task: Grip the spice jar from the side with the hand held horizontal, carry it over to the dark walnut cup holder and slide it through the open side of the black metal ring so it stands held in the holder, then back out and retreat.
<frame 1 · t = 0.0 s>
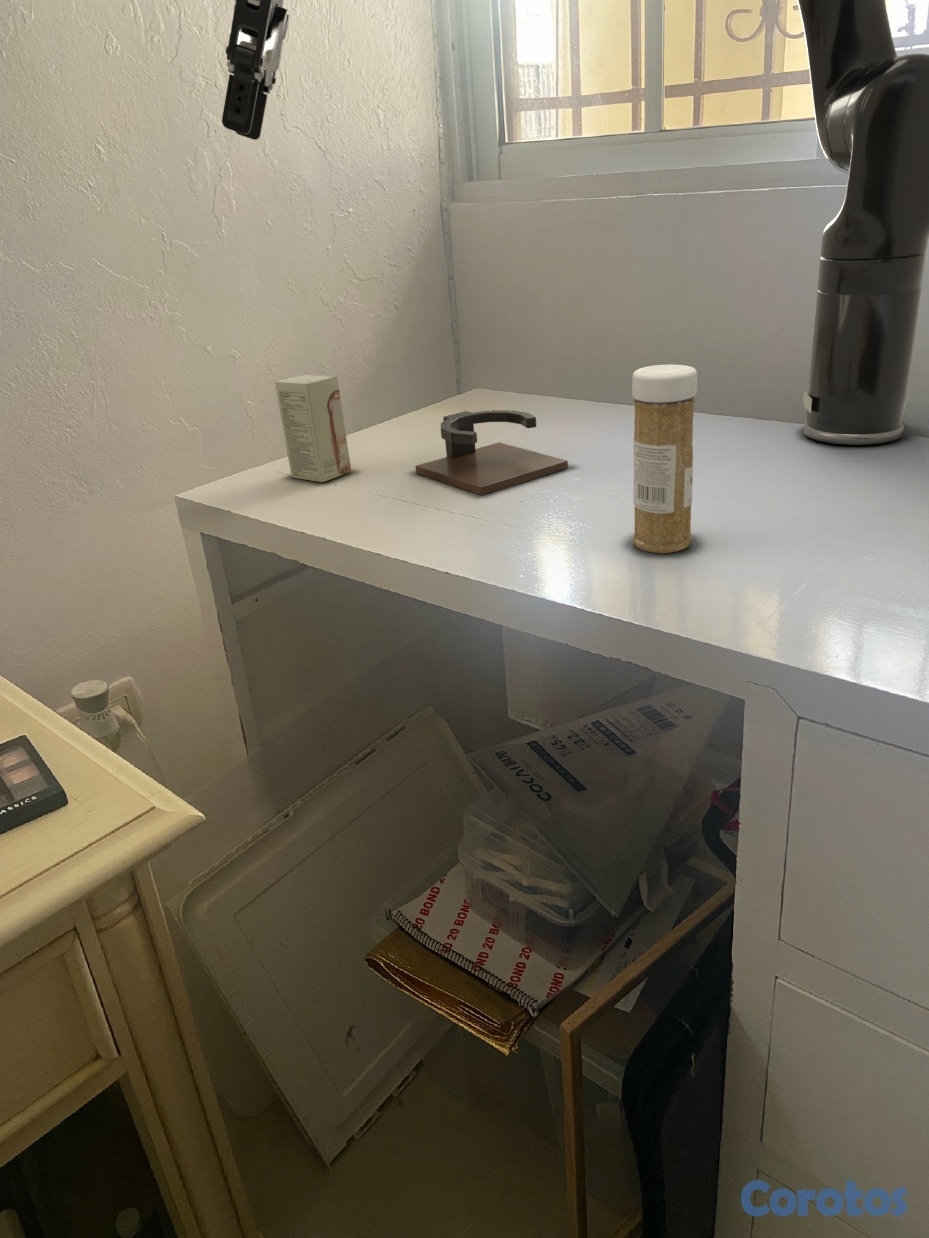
hand: (241, 134, 75), 31 cm above the table, tool tilted 20°, fingers open, 8 cm apart
cup holder: (491, 470, 92), on the table
spice jar: (661, 546, 71), on the table
printed product carton: (321, 476, 95), on the table
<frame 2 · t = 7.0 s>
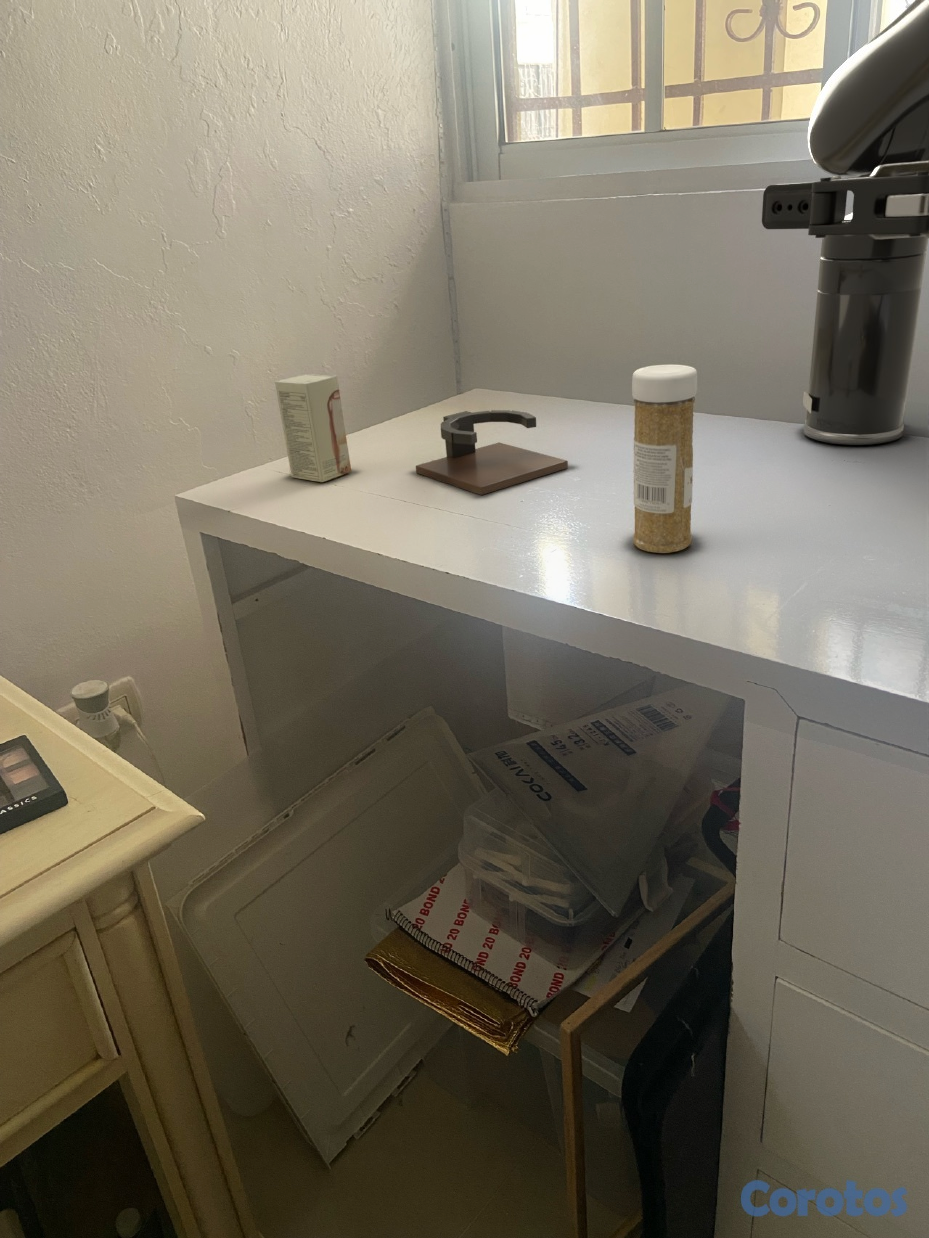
hand: (813, 200, 52), 24 cm above the table, tool horizontal, fingers open, 8 cm apart
nothing on the table moved.
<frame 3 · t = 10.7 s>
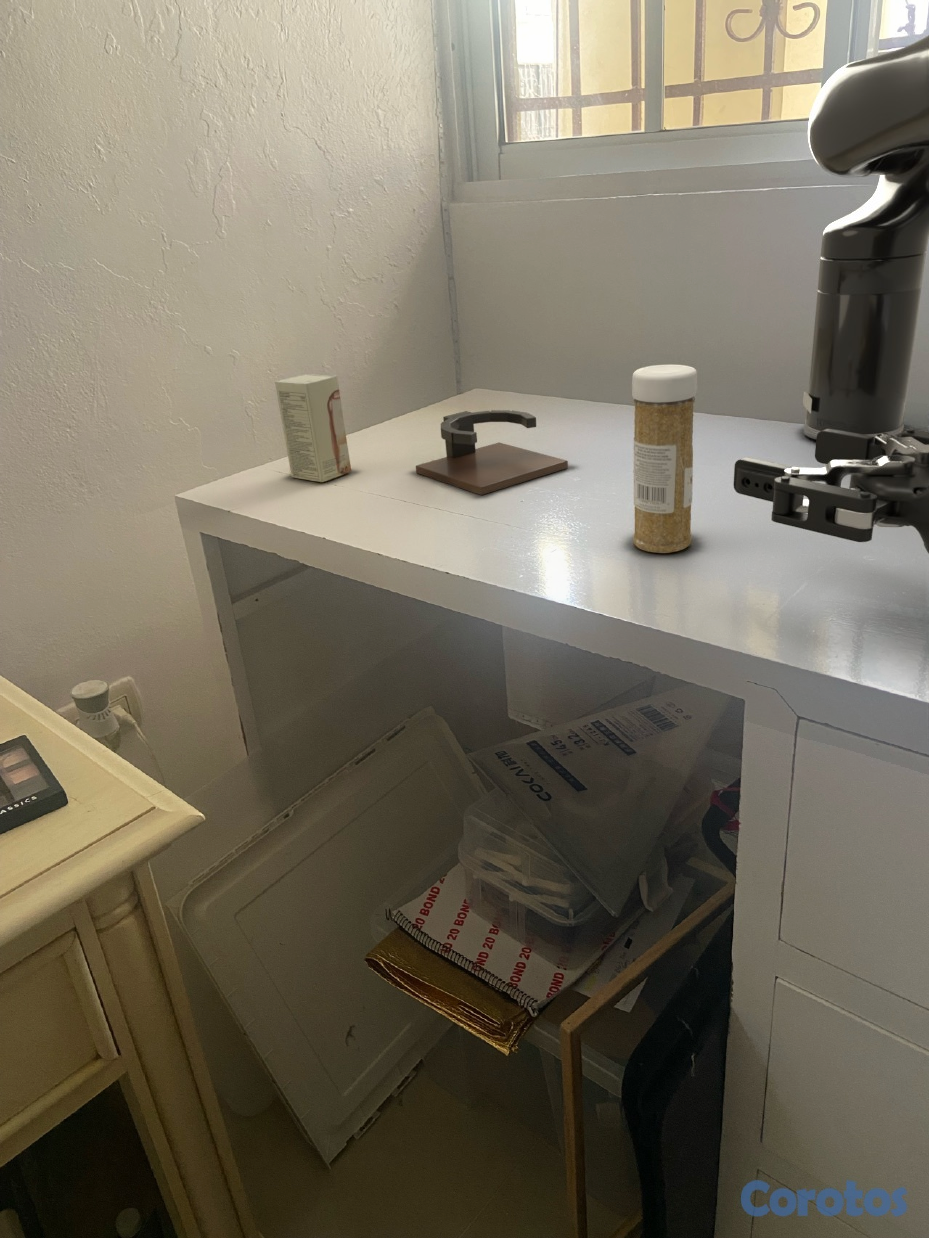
hand: (779, 458, 59), 9 cm above the table, tool horizontal, fingers open, 8 cm apart
nothing on the table moved.
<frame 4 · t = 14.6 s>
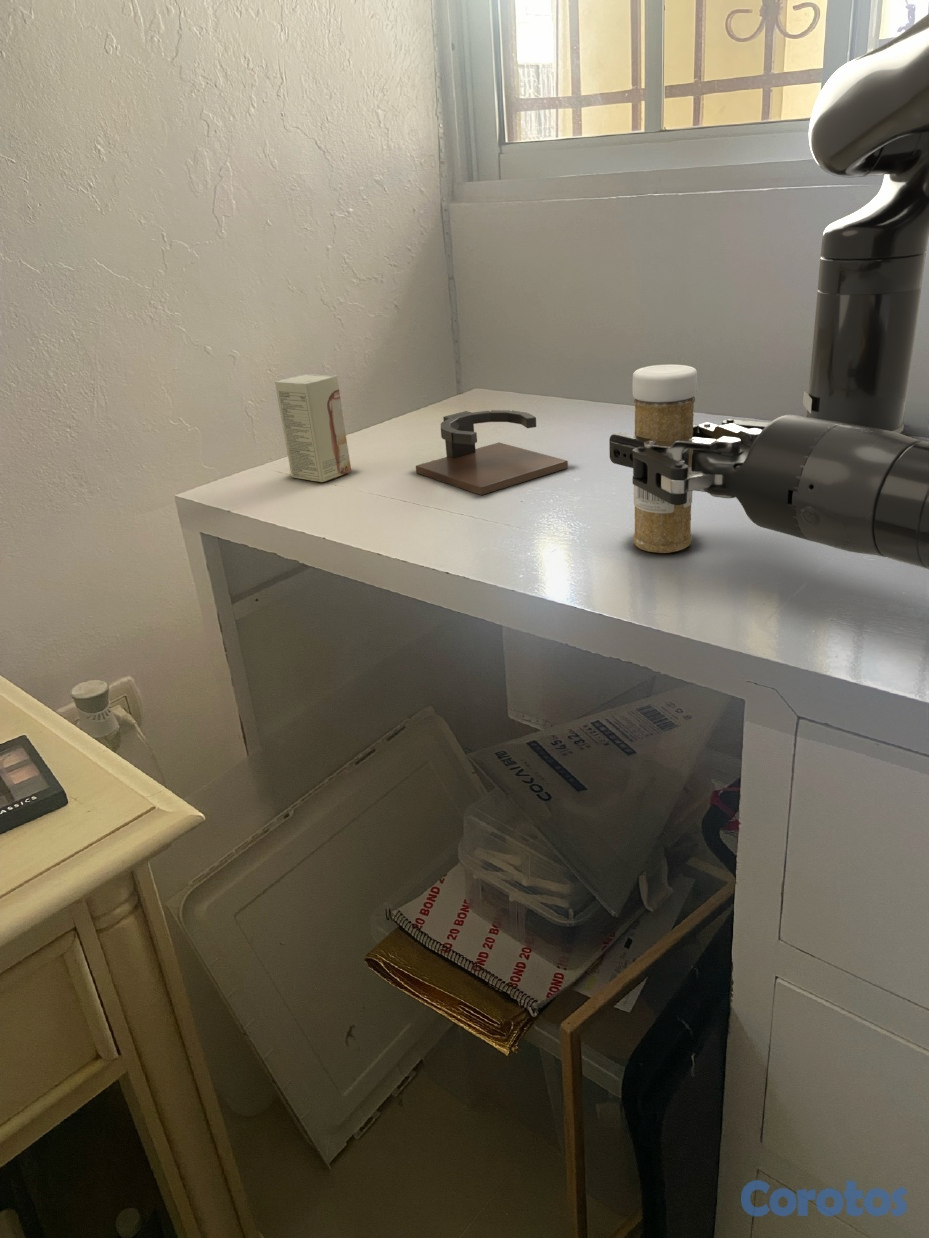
hand: (636, 440, 69), 8 cm above the table, tool horizontal, fingers closed on spice jar, 4 cm apart
spice jar: (661, 546, 71), on the table, touching gripper
everything else where it was.
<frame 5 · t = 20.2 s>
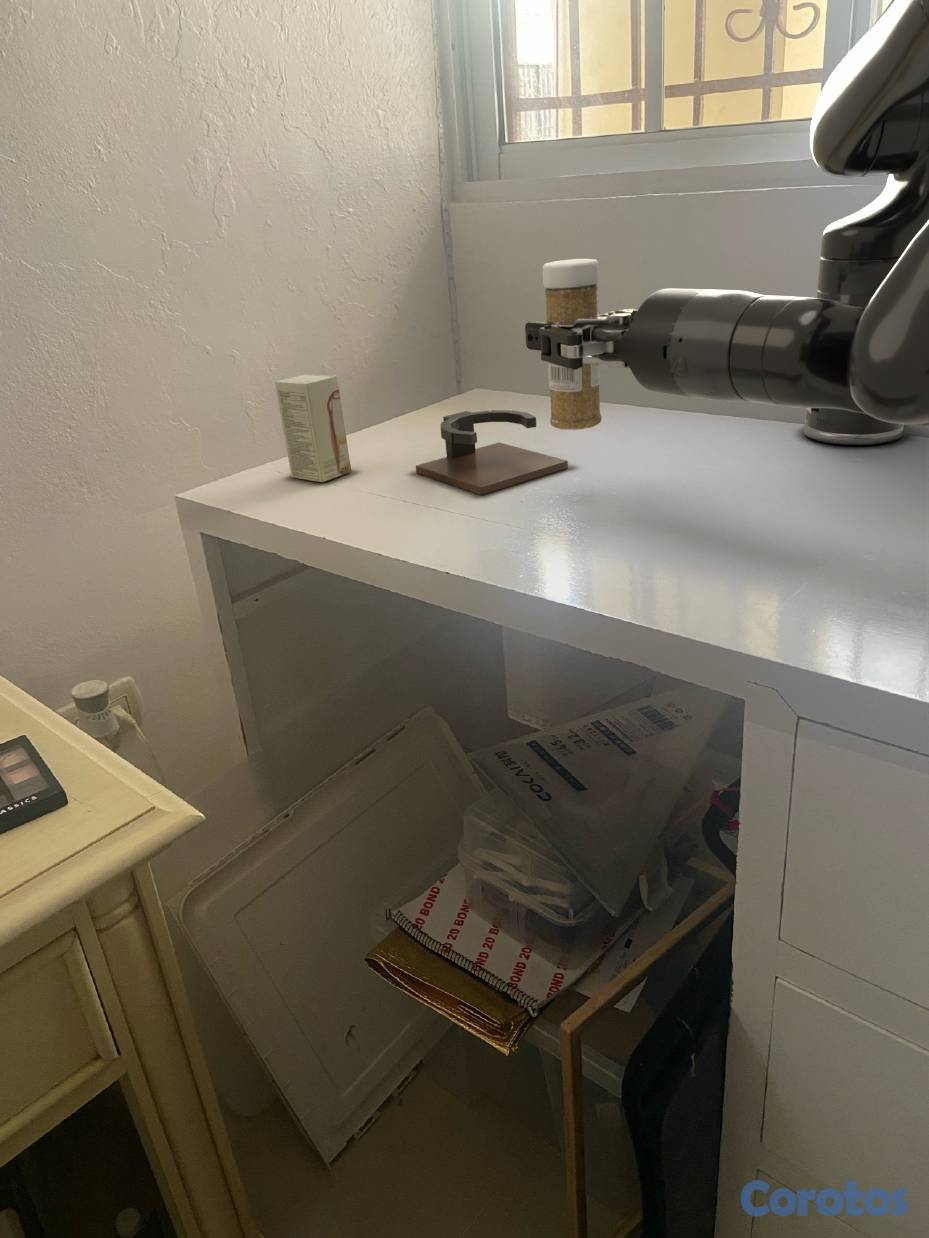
hand: (550, 330, 78), 14 cm above the table, tool horizontal, fingers closed on spice jar, 4 cm apart
spice jar: (575, 427, 79), point 6 cm above the table, touching gripper
everything else where it was.
when the fingers open (9 cm above the table, at t = 26.3 s): spice jar stays where it is, resting on cup holder.
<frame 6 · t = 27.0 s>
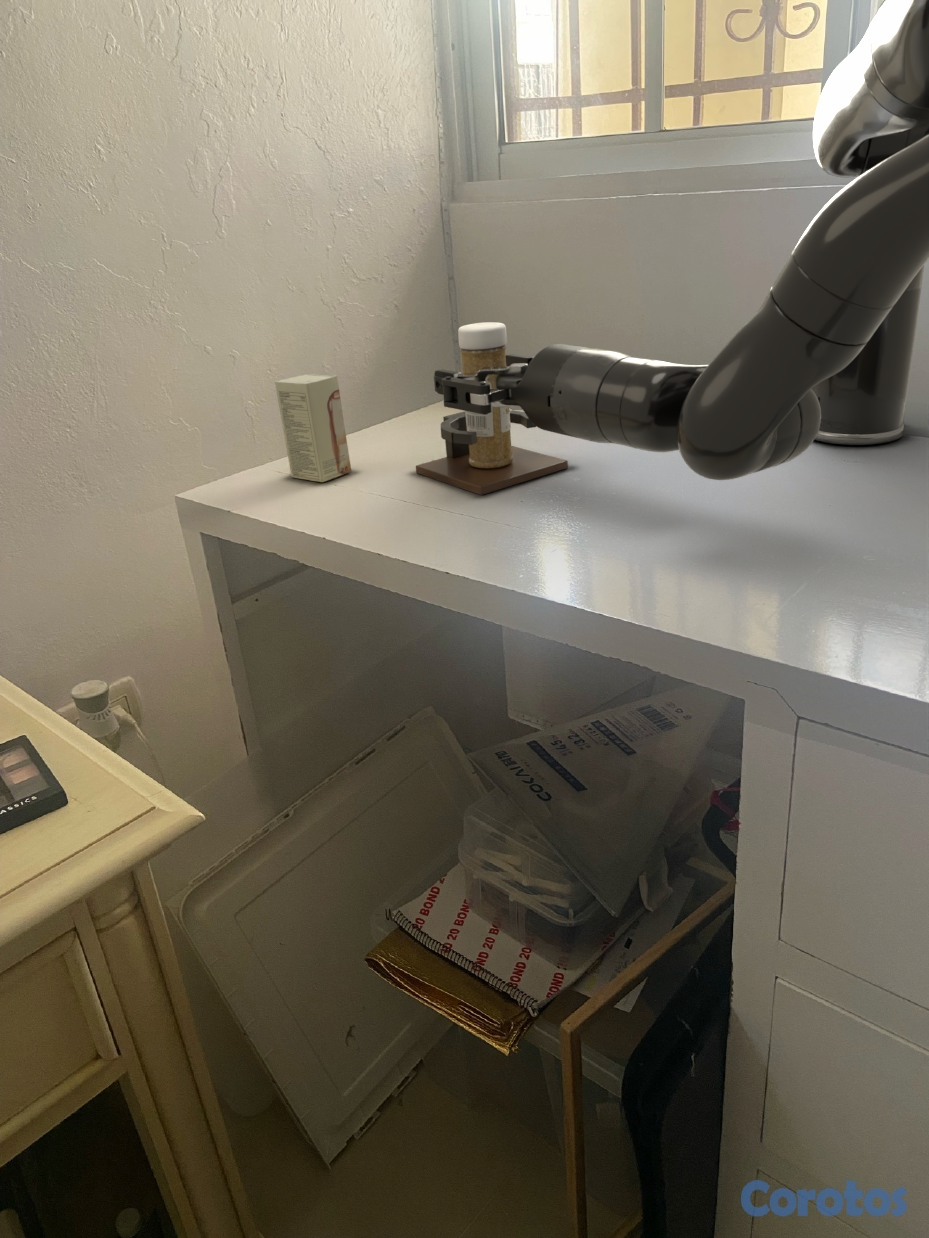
hand: (473, 373, 89), 10 cm above the table, tool horizontal, fingers open, 8 cm apart
spice jar: (490, 465, 91), point 1 cm above the table, touching cup holder
everything else where it was.
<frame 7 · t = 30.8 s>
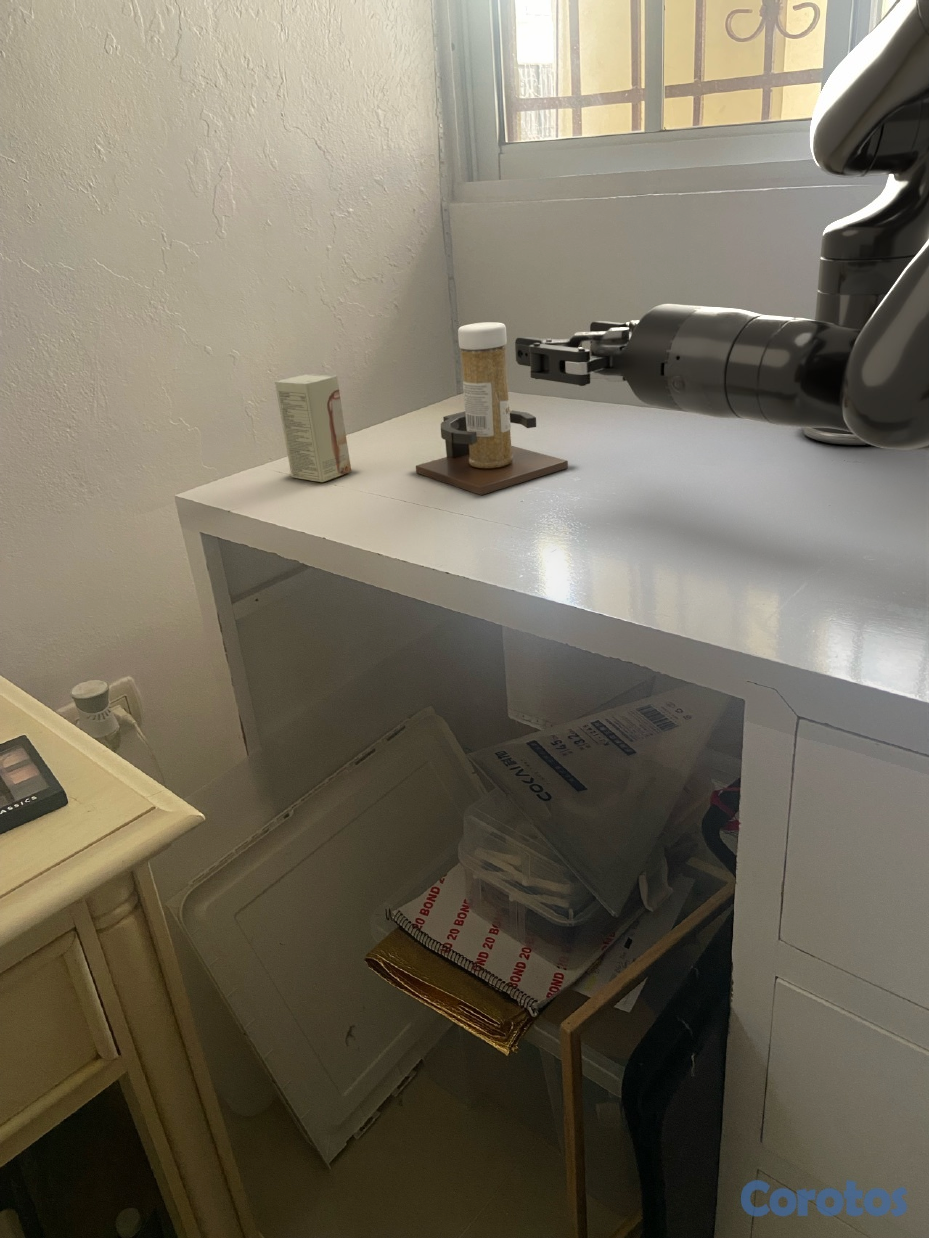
hand: (556, 341, 78), 14 cm above the table, tool horizontal, fingers open, 8 cm apart
nothing on the table moved.
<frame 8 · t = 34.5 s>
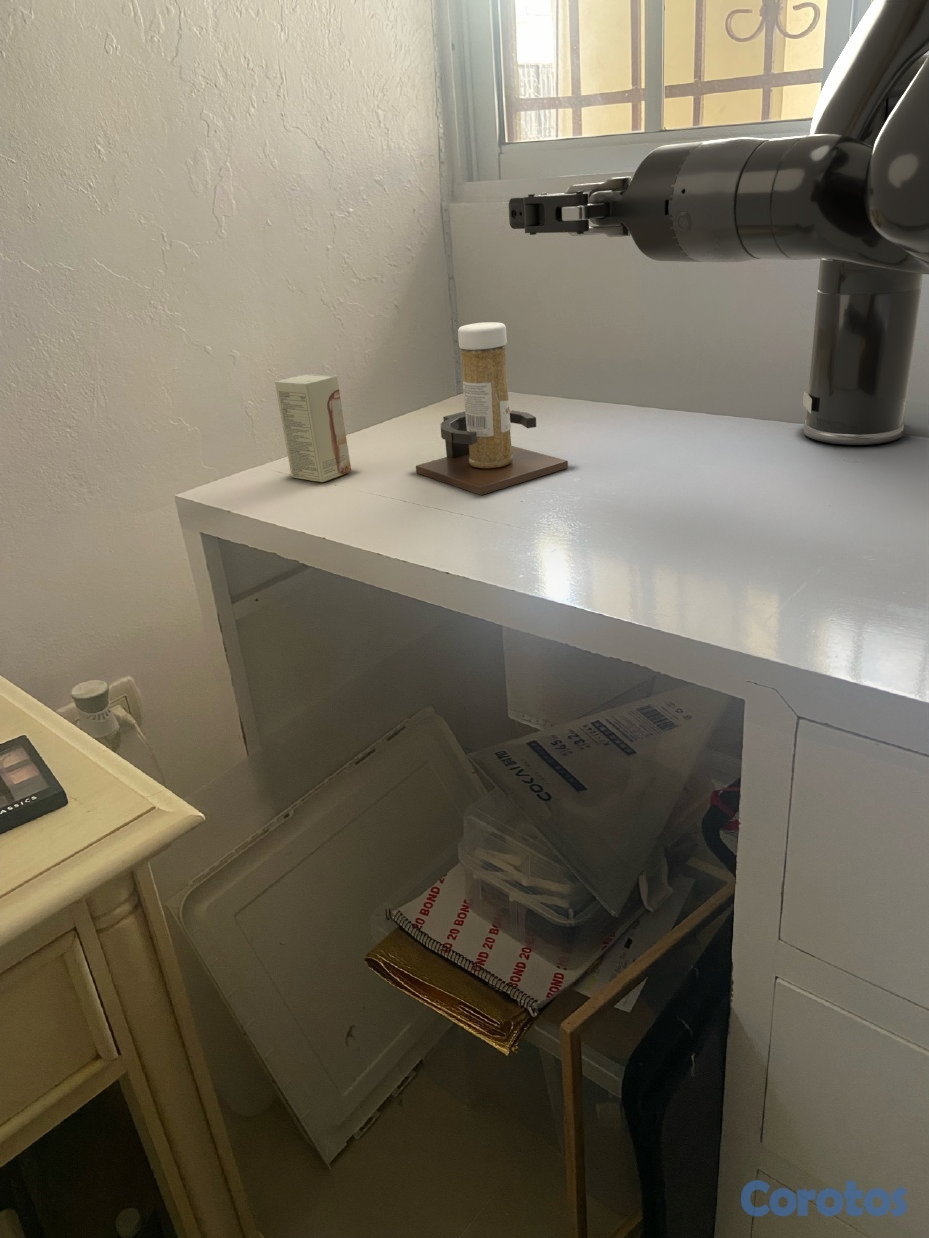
hand: (553, 208, 73), 24 cm above the table, tool horizontal, fingers open, 8 cm apart
nothing on the table moved.
at the end: spice jar 0.1 cm off-centre on the cup holder, point 0.6 cm above the cup holder's base; spice jar tilted 0°; the gripper is holding nothing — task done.
